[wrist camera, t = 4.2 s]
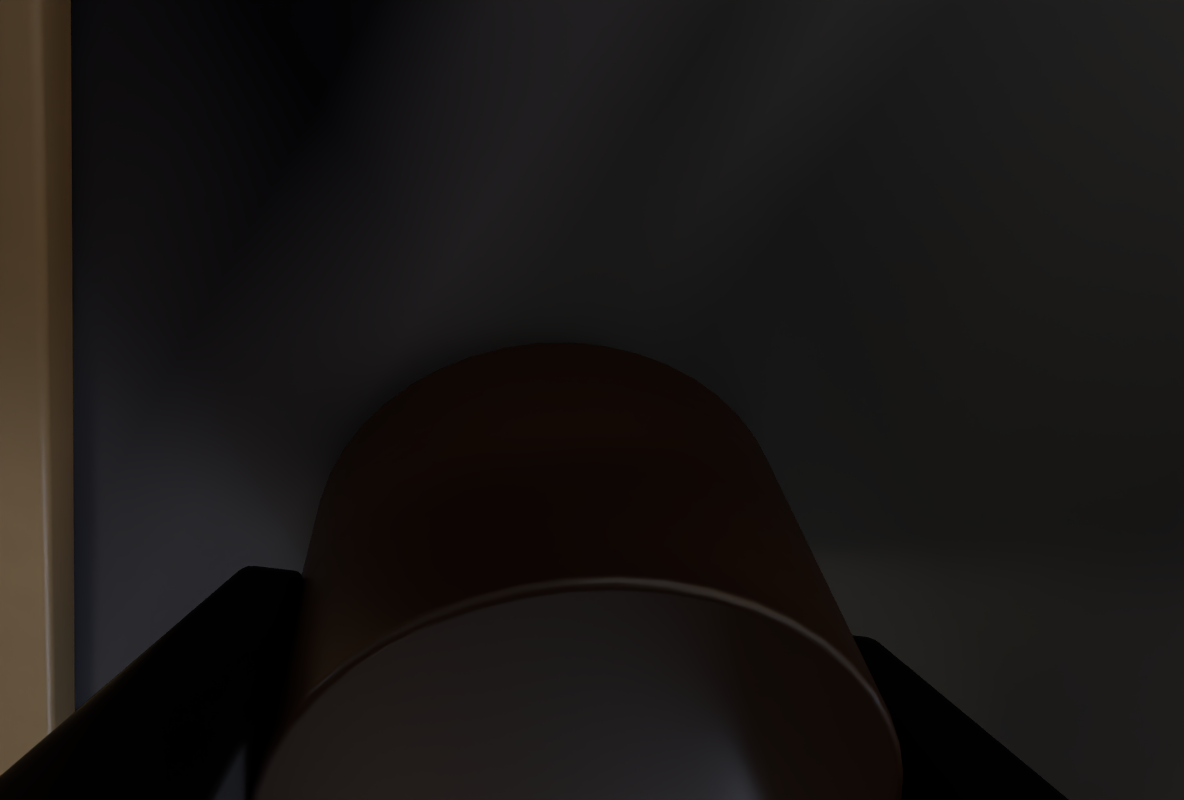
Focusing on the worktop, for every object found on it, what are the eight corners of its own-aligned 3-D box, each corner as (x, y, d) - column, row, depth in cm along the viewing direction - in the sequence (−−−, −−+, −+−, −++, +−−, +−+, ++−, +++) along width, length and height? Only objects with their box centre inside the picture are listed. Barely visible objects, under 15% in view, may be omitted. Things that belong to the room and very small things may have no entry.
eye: (841, 382, 8) (1010, 626, 6) (708, 736, 10) (790, 1049, 7) (344, 299, 7) (269, 537, 5) (295, 699, 9) (221, 1031, 7)
